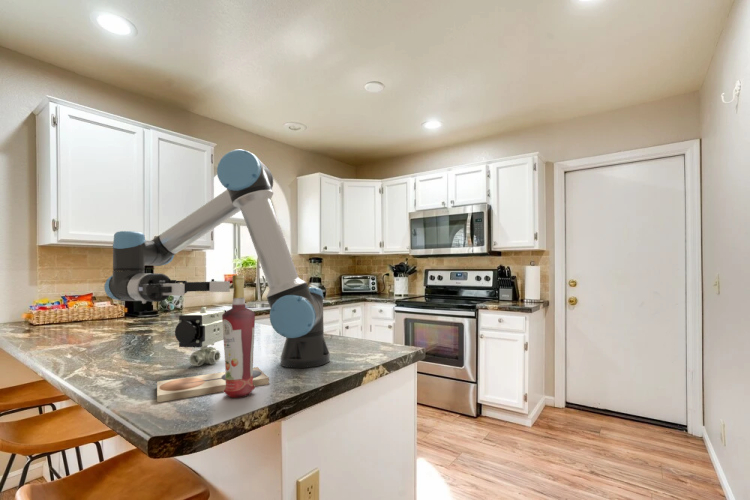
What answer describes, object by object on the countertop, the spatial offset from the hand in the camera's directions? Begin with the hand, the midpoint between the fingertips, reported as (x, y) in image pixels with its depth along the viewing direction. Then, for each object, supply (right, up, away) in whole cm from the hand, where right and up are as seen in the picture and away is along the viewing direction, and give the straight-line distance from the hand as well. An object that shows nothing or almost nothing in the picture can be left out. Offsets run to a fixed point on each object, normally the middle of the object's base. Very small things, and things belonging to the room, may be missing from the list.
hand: (207, 288), depth 96 cm
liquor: (+10, -25, -5) cm, 27 cm away
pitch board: (0, -25, +3) cm, 25 cm away
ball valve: (-12, -27, +27) cm, 40 cm away
